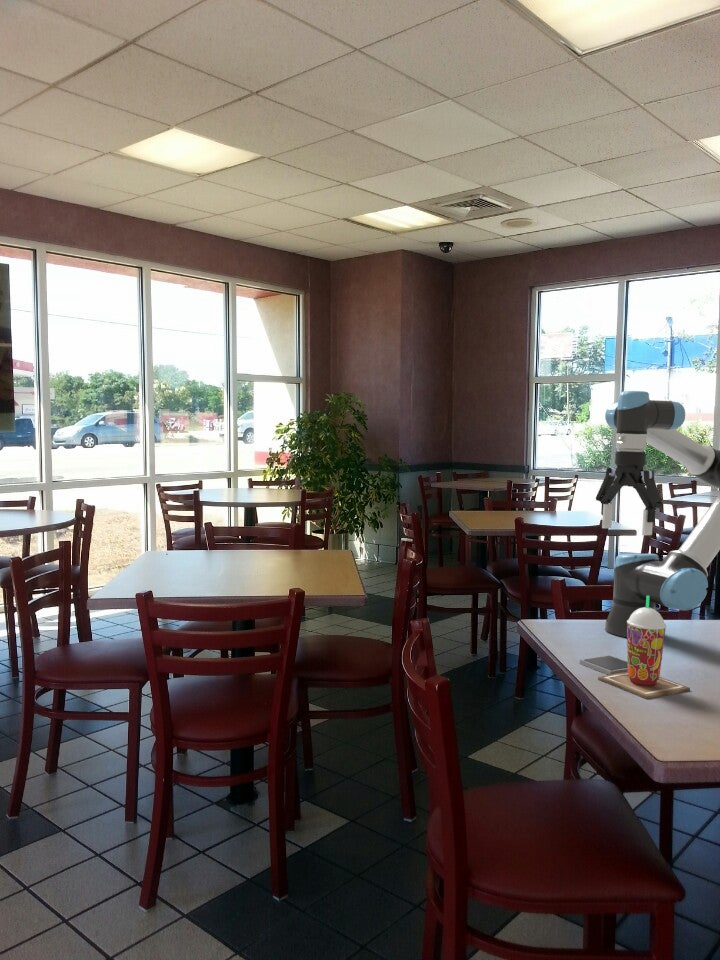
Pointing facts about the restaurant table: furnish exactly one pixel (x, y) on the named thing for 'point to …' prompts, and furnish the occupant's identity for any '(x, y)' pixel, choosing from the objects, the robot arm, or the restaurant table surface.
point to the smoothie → (645, 645)
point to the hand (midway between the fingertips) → (626, 531)
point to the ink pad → (606, 664)
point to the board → (646, 692)
